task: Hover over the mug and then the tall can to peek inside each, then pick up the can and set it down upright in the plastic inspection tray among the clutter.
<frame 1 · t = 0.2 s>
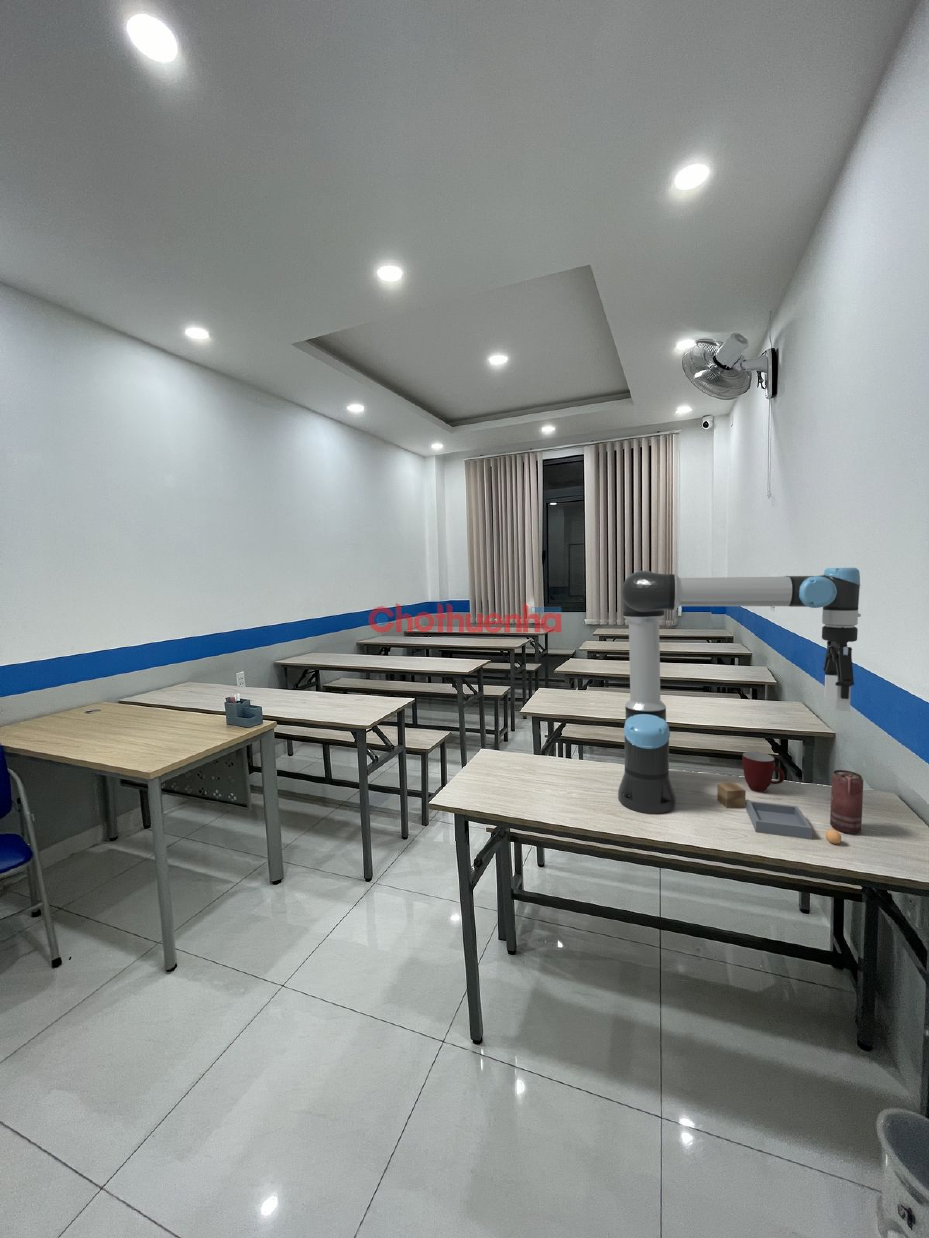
hand: (836, 704, 132), 27 cm above the table, fingers open, 13 cm apart
can: (845, 829, 120), on the table
rubber ball: (833, 836, 114), point 1 cm above the table
tray: (777, 824, 124), on the table
walnut block: (730, 804, 135), on the table
mug: (762, 790, 143), on the table
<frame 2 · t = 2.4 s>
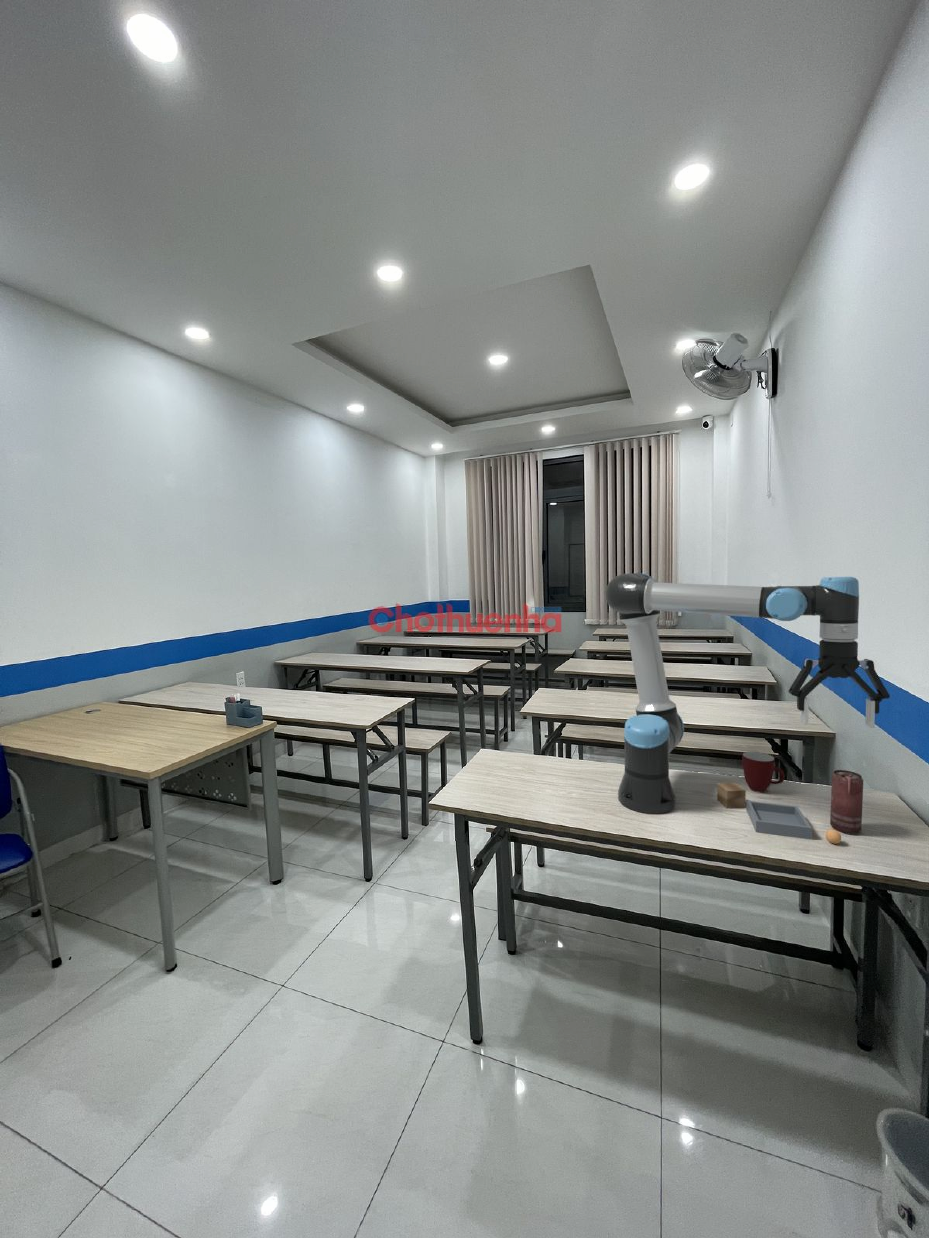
hand: (836, 724, 122), 25 cm above the table, fingers open, 13 cm apart
nothing on the table moved.
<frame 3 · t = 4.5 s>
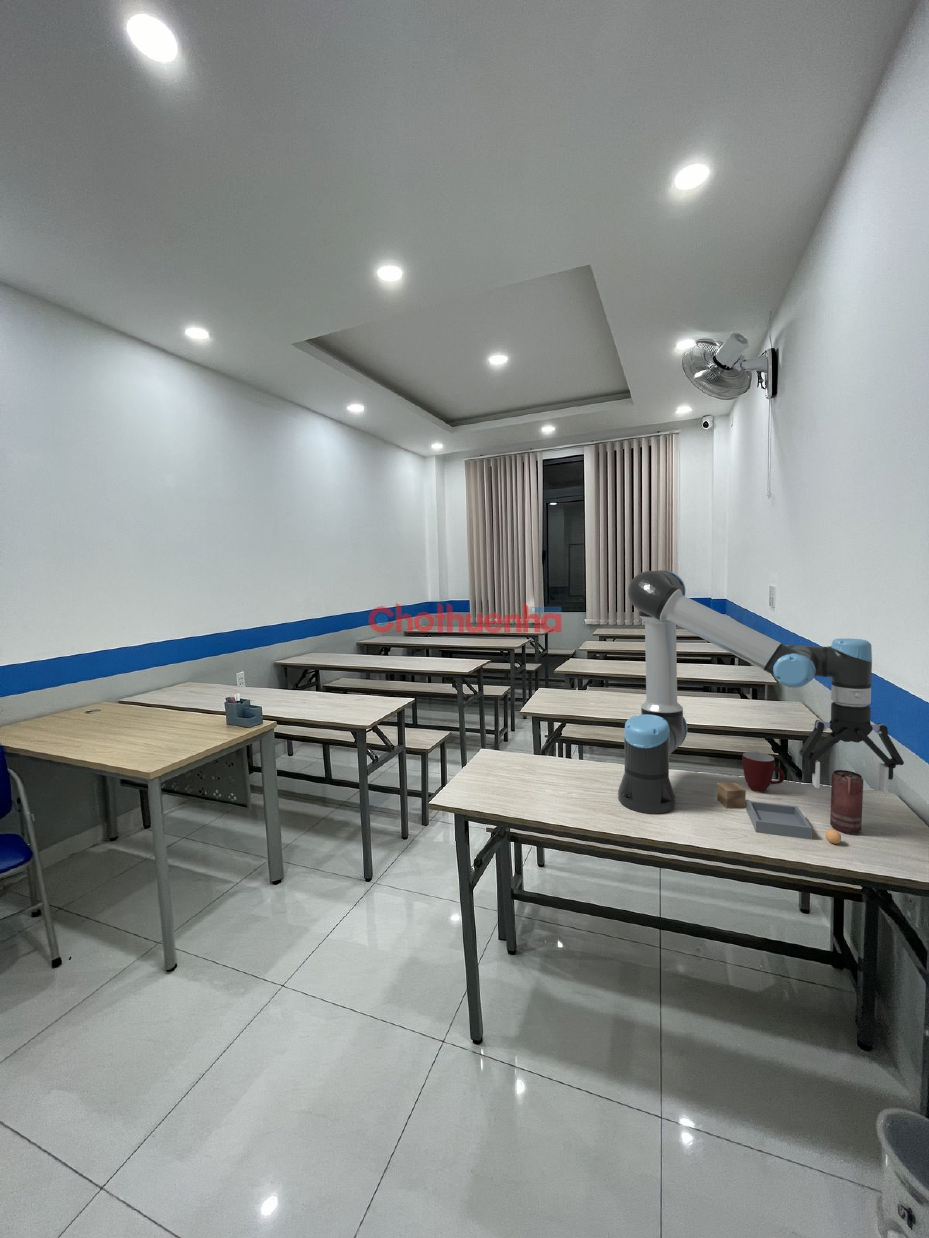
hand: (849, 788, 119), 10 cm above the table, fingers open, 13 cm apart
nothing on the table moved.
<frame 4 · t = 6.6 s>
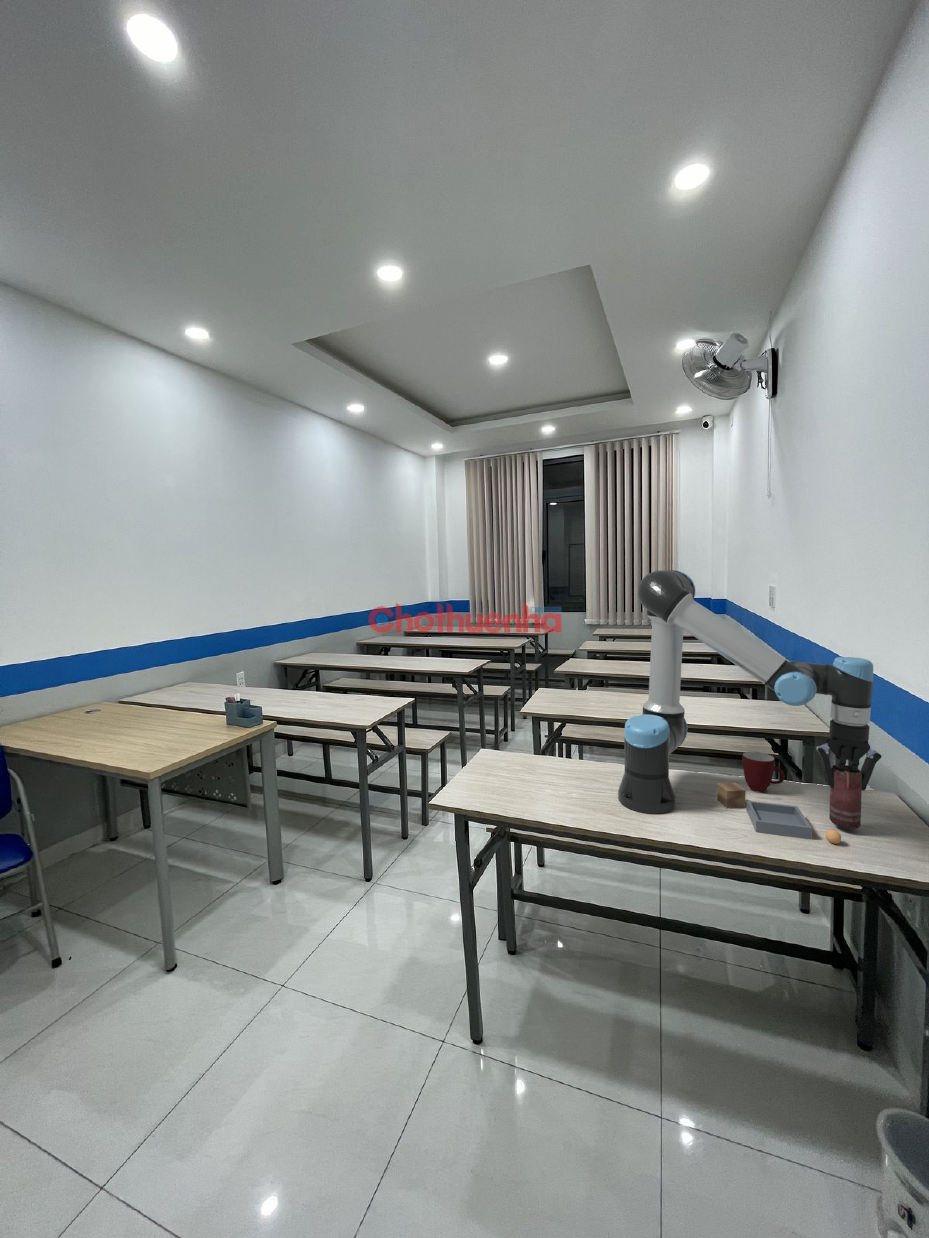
hand: (843, 814, 120), 3 cm above the table, fingers closed
can: (844, 824, 120), point 1 cm above the table, touching hand
everything else where it was.
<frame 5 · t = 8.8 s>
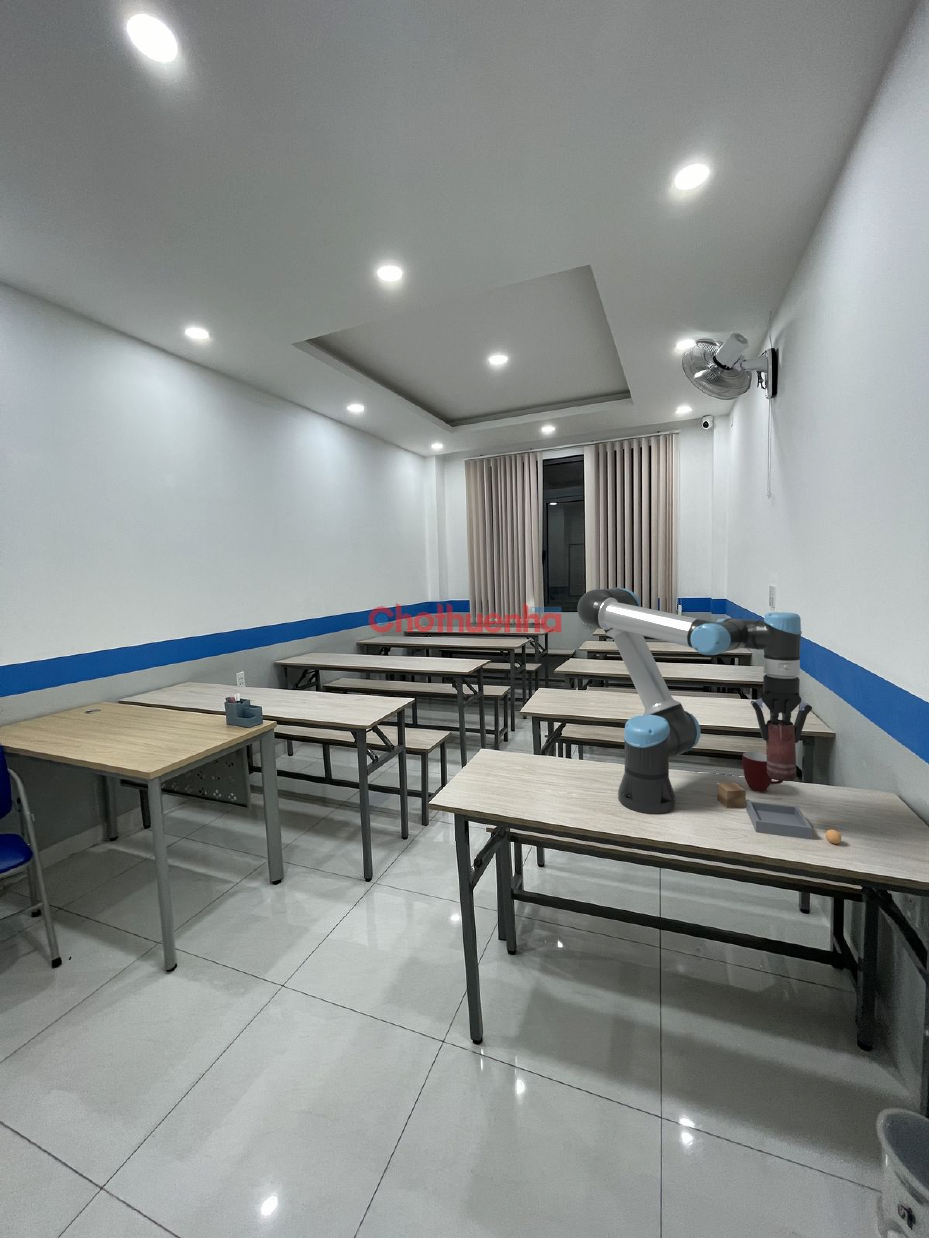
hand: (778, 768, 122), 15 cm above the table, fingers closed
can: (781, 777, 122), point 12 cm above the table, touching hand
everything else where it was.
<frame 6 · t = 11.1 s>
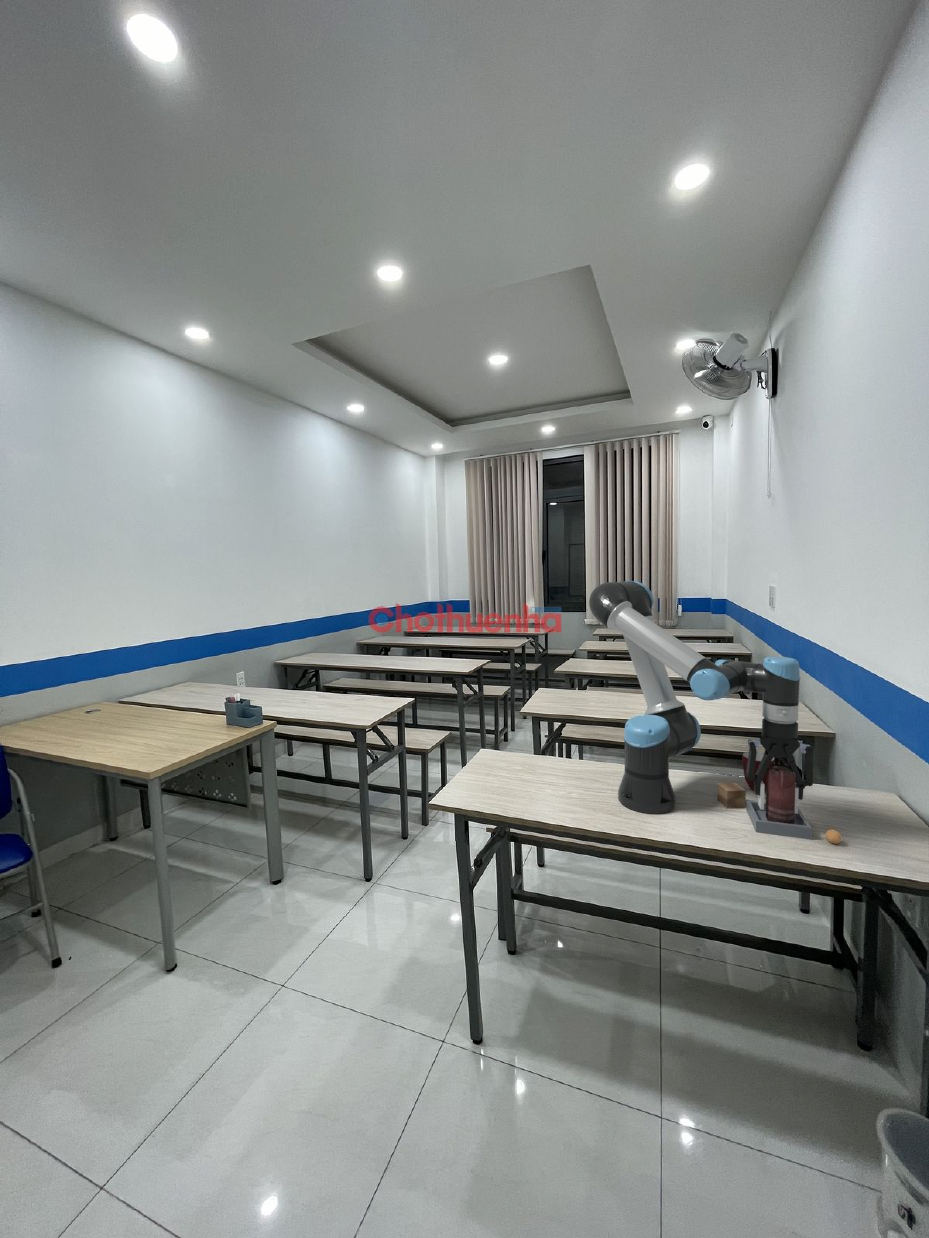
hand: (777, 808, 123), 4 cm above the table, fingers open, 7 cm apart
can: (779, 822, 123), point 1 cm above the table, touching tray
everything else where it was.
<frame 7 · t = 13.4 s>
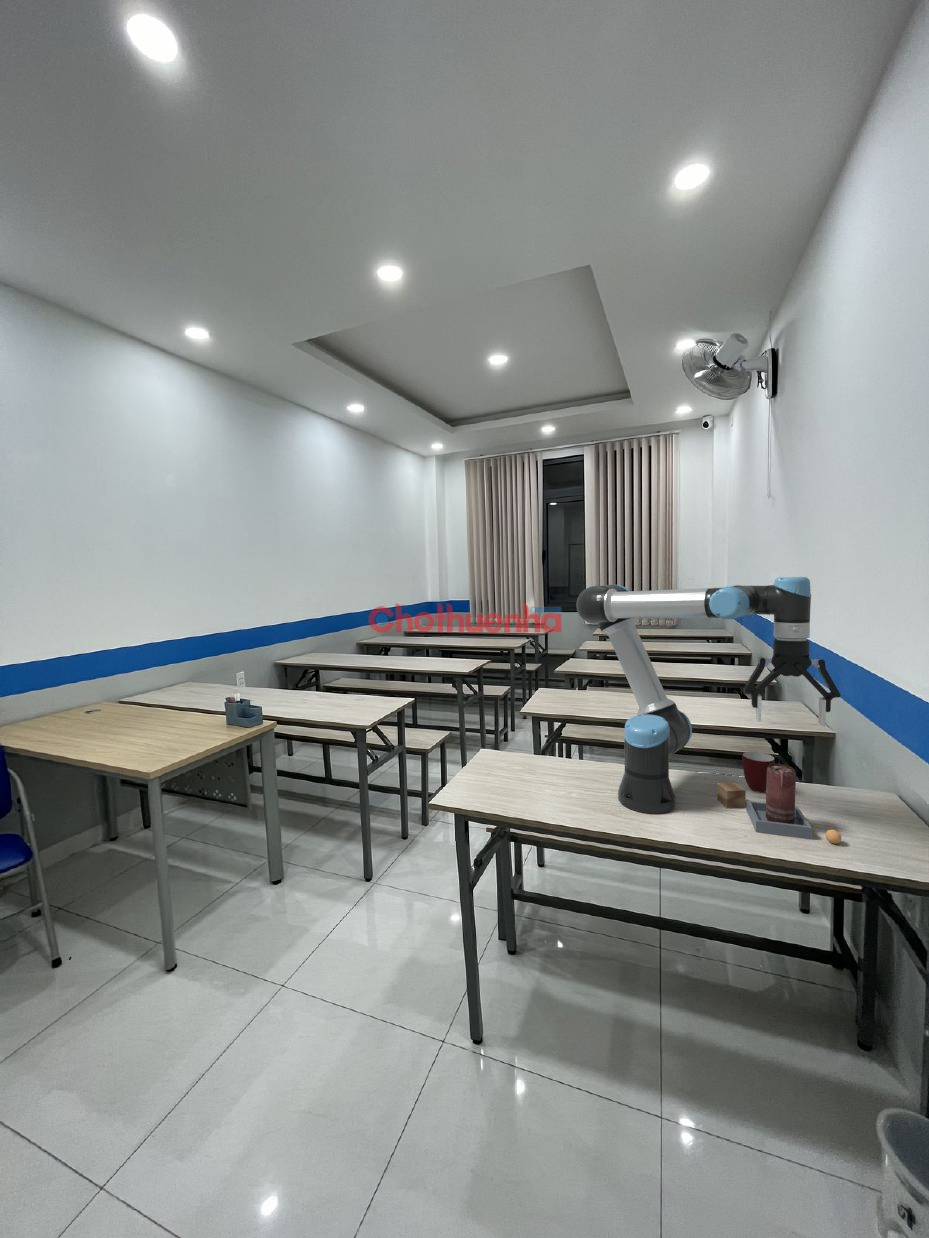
hand: (789, 722, 124), 26 cm above the table, fingers open, 13 cm apart
nothing on the table moved.
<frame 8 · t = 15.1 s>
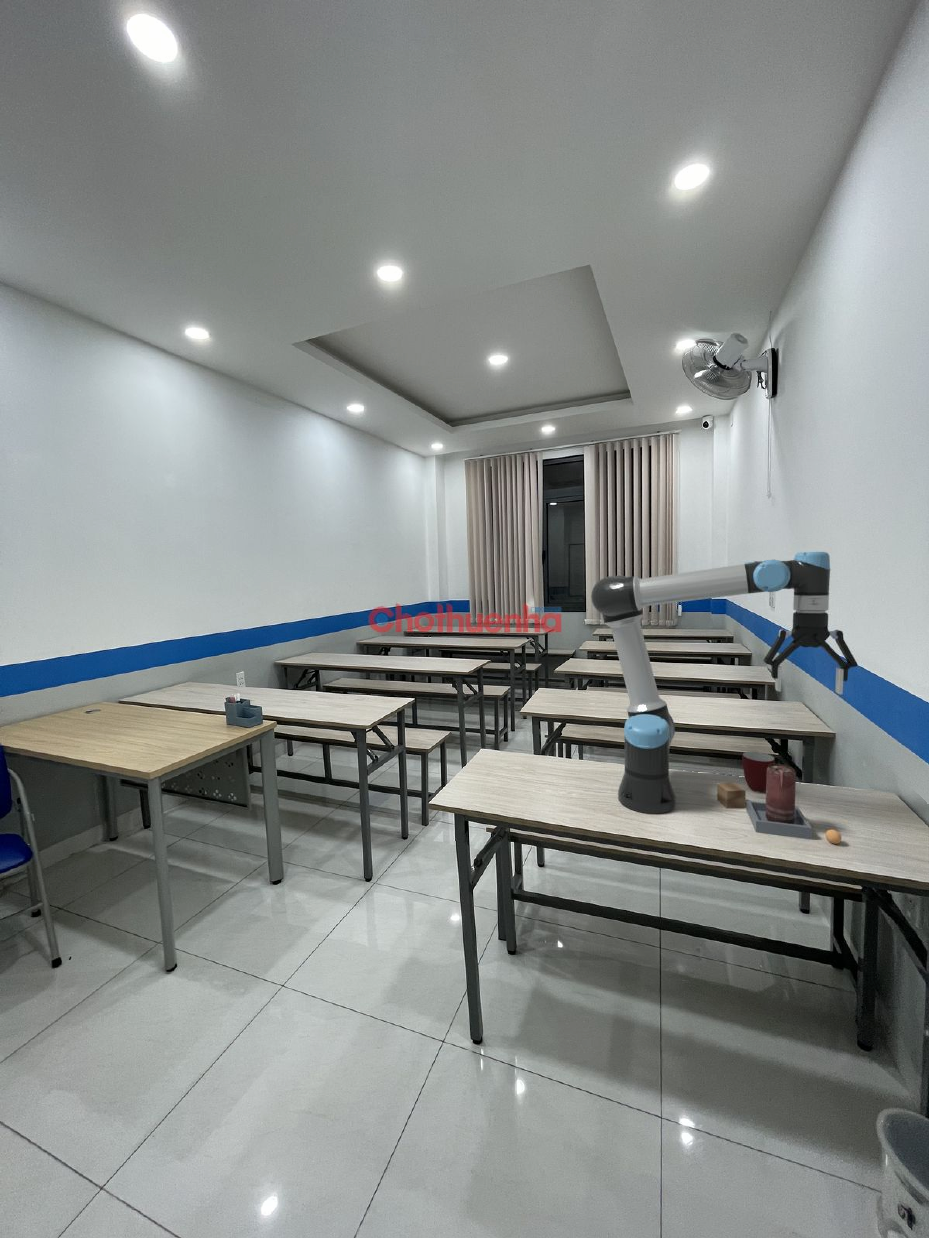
hand: (807, 691, 129), 32 cm above the table, fingers open, 13 cm apart
nothing on the table moved.
at the end: can 0.6 cm from the tray (horizontally); can touching tray; can tilted 0° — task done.
